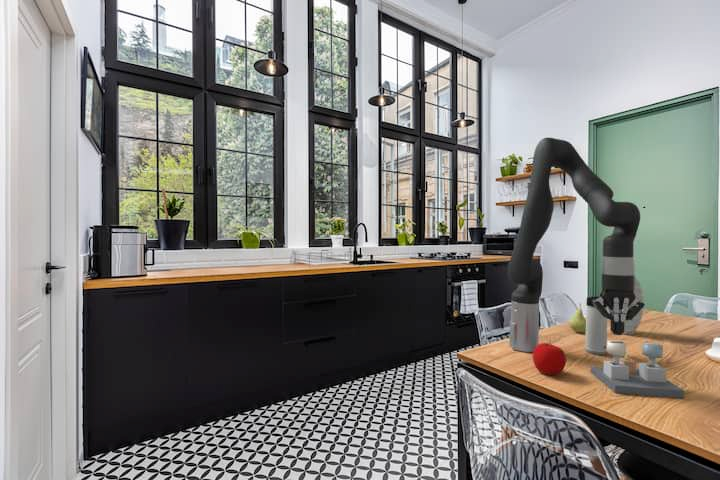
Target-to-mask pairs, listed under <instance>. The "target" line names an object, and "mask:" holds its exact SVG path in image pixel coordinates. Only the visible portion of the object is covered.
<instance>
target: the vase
mask: <svg viewBox="0 0 720 480" xmlns="http://www.w3.org/2000/svg"><path fill="white" fill-rule="evenodd" d="M634 294H635V296H636V299H637V300H638V301H640V302H642V303H644V304H645V302H644V294H643V290H642V286H641V284H640V281H639V280H638V279H637V277H636V276H635V275H634ZM631 306H632V305H630V306H629V307H628V309H629V308H630V307H631ZM607 311H608V306H607ZM608 313H609V311H608ZM643 315H644V307H643V308H642V309H641V310H640V311H639V312H638V313H637V315H636V316H635V317H634V318H633V319H632V320H626V321H625V322H624V333H622V335H633V334H634V333H635V332H636V331H637V330H638V327H639V326H640V324H641V321H642V319H643ZM608 321H609V322H610V324H611V321H610V319H608Z"/></svg>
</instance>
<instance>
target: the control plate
mask: <svg viewBox="0 0 720 480" xmlns="http://www.w3.org/2000/svg"><path fill="white" fill-rule="evenodd" d="M590 374H592V376H594V377H595V378H597V379H598V380H599V381H600V382H601V383H602V384H603V385H605V386H606V387H607V388H608V389H610V390H611V391H612V392H613V393H615V394H624V395H635V396H636V395H637V396H647V397H648V396H650V397H664V398H675V399H676V398H677V399H678V398H679V399H685V390H684V389H682V388H681V387H679V386H678V385H676V384H675V383H673V382H671V381H669V380H668V379H667V369H666V368H664V367H663V366H661V365H659V364H658V363H655V368H652V367H649V362H638V369H637V368H636V374H630V373H629V367H628V366H626V365H625V364H623V363H622V362H619V365H613V360H603V366H592V365H591V366H590Z"/></svg>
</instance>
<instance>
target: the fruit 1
mask: <svg viewBox="0 0 720 480" xmlns="http://www.w3.org/2000/svg"><path fill="white" fill-rule="evenodd" d="M551 342H552V340H551V339H549V343H547V342H543V343H542V342H541V343H539V345H537V346H536V347H535V349H534V351H533V352H532V360H533V364H534V366H535V368H536V369H537V370H538V372H539V371H540V372H541V373H542V374H545V375H549V376H557V375H559V374H561V373H562V372H563V371H564V369H565V367H566V363H567V357H566V354H565V352H564V349H562V348H561V347H560V346H557V345H553V344H551Z"/></svg>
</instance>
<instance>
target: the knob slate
mask: <svg viewBox="0 0 720 480" xmlns="http://www.w3.org/2000/svg"><path fill="white" fill-rule="evenodd" d="M641 349H642V350H641V352H642V353H641V354H642V355H643V356H645V357H647V358H648V363H649V367H652V368H655V364H656V359H662V358H663V357H664V346H663V345H662V344H660V343H657V342H650V341H649V342H646V341H645V342H642V345H641Z"/></svg>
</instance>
